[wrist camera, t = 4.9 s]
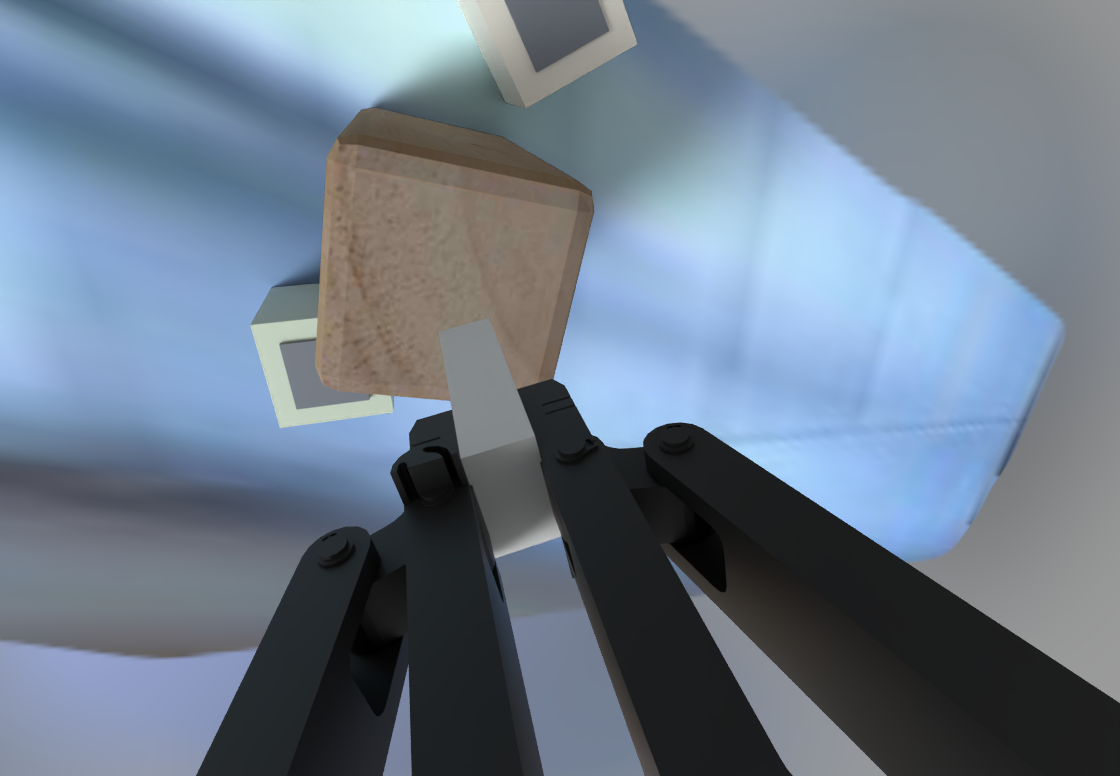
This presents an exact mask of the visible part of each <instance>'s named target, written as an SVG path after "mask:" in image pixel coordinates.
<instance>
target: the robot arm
mask: <svg viewBox="0 0 1120 776" xmlns="http://www.w3.org/2000/svg"><path fill="white" fill-rule="evenodd" d="M439 337H440V343H441V349H442V354H443V360H444V366H445V372H446V378H447V383H448V389H449V395H450V401H451V406H452V410H450V411H446V412H443V413H439V414H436V415H433V416H429V417H426V418H423V419H419V420H417V421H416V423H415V424H414V426H413V428H412V430H411V431H410V433H409V440H410V450H409V451H408V452H406V453H405V454H403V455H402V456H400V457H399V458H398V460H397V461H396V462H395V463H394V464H393V466H392V469H391V472H390V474H391V476H392V478H393V481H394V483H395V485H396V488H397V490H398V492H399V495H400V497H401V499H402V502H403V504H404V512H403V514H402V515H401V516H400V517H398V518H397V519H396V520H395V521H394V522H392V523H391V524H389V525H388V526H386V527H384V528H383V529H381V530H379V531H377V532H375V533H374V534H372V535H369V534H368V532H367V530H365V529H363V528H360V527H343V528H340V529H336V530H333V531H331V532H329V533H327V534H326V535H324V536H322V537H320V538H319V539H318V540H317V541H315V542H314V543H313V544H312V545H311V546H310V547H309V548H308V549H307V551H306V552H305V554H304V555H303V556H302V558H301V560H300V562H299V564H298V566H297V568H296V571H295V573H294V575H293V577H292V579H291V581H290V583H289V585H288V587H287V589H286V591H285V593H284V595H283V597H282V599H281V602H280V604H279V606H278V608H277V610H276V612H275V614H274V616H273V618H272V620H271V622H270V624H269V626H268V628H267V630H266V632H265V635H264V637H263V639H262V641H261V643H260V645H259V647H258V649H257V651H256V653H255V655H254V657H253V660H252V662H251V664H250V666H249V668H248V670H247V672H246V674H245V676H244V678H243V680H242V682H241V684H240V686H239V689H238V691H237V692H236V694H235V697H234V699H233V701H232V703H231V705H230V707H229V709H228V711H227V713H226V715H225V717H224V719H223V721H222V723H221V725H220V727H219V730H218V732H217V734H216V736H215V738H214V740H213V742H212V744H211V746H210V748H209V750H208V752H207V754H206V756H205V758H204V761H203V763H202V765H201V767H200V769H199V771H198V773H197V775H196V776H383V772H384V767H385V763H386V758H387V754H388V750H389V746H390V741H391V737H392V732H393V728H394V724H395V720H396V715H397V711H398V707H399V702H400V698H401V694H402V689H403V685H404V681H405V676H406V672H407V668H408V664H409V688H410V690H409V691H410V725H411V760H412V761H411V762H412V776H544V774H543V769H542V764H541V760H540V756H539V751H538V746H537V741H536V737H535V732H534V727H533V723H532V718H531V714H530V709H529V705H528V700H527V695H526V691H525V686H524V681H523V677H522V672H521V668H520V663H519V659H518V654H517V649H516V645H515V640H514V635H513V631H512V626H511V621H510V617H509V612H508V608H507V603H506V598H505V594H504V589H503V585H502V580H501V575H500V573H499V570H498V567H497V564H496V561H495V558H497V557H500V556H503V555H506V554H509V553H513V552H516V551H519V550H522V549H525V548H528V547H531V546H534V545H537V544H540V543H543V542H546V541H549V540H552V539H555V538H558V537H561V536H562V540H563V544H564V548H565V552H566V555H567V559H568V563H569V567H570V570H571V574H572V578H575V580H576V583H577V586H578V589H579V591H580V594H581V597H582V600H583V603H584V606H585V608H586V611H587V614H588V617H589V620H590V622H591V625H592V628H593V631H594V634H595V636H596V639H597V642H598V645H599V648H600V650H601V653H602V656H603V659H604V662H605V665H606V667H607V670H608V673H609V676H610V679H611V681H612V684H613V687H614V690H615V692H616V696H617V698H618V701H619V704H620V707H621V710H622V712H623V715H624V718H625V721H626V724H627V727H628V729H629V732H630V735H631V738H632V741H633V743H634V746H635V749H636V752H637V755H638V758H639V760H640V763H641V766H642V769H643V772H644V775H645V776H792V774H791V773H790V772H789V771H788V770H787V768H786V767H785V765H784V764H783V762H782V760H781V759H780V757H779V755H778V753H777V752H776V750H775V748H774V746H773V744H772V743H771V741H770V739H769V738H768V736H767V734H766V732H765V730H764V729H763V727H762V725H761V723H760V721H759V720H758V718H757V716H756V714H755V713H754V711H753V709H752V707H751V705H750V703H749V702H748V700H747V698H746V696H745V695H744V693H743V691H742V689H741V687H740V686H739V684H738V682H737V680H736V679H735V677H734V675H733V673H732V671H731V670H730V668H729V666H728V664H727V663H726V661H725V659H724V657H723V655H722V654H721V652H720V650H719V648H718V647H717V645H716V643H715V641H714V639H713V638H712V636H711V634H710V632H709V631H708V629H707V627H706V625H705V623H704V622H703V620H702V618H701V616H700V615H699V613H698V611H697V609H696V607H695V606H694V604H693V602H692V600H691V598H690V597H689V595H688V593H687V591H686V590H685V588H684V586H683V584H682V582H681V581H680V579H679V577H678V575H677V574H676V572H675V570H674V568H673V566H672V565H671V563H670V561H669V559H668V558H667V556H668V557H669V558H670V559H671V560H672V561H673V562H674V563H675V564H676V565H677V566H678V567H679V568H680V569H681V570H682V571H683V572H684V573H685V574H686V575H687V576H688V577H689V578H690V579H691V580H692V581H693V582H694V583H695V584H696V585H697V586H698V587H699V588H700V589H701V590H702V591H703V592H704V593H705V594H706V595H707V596H708V597H709V598H710V599H711V600H712V601H713V602H714V603H715V604H716V605H717V606H718V607H719V608H720V609H721V610H722V611H723V612H724V613H725V614H726V615H727V616H728V617H729V618H730V619H731V620H732V621H733V622H734V623H735V624H736V625H737V626H738V627H739V628H740V629H741V630H742V631H743V632H744V633H745V634H746V635H747V636H748V637H749V638H750V639H751V640H752V641H753V642H754V643H755V644H756V645H757V646H758V647H759V648H760V649H761V650H762V651H763V652H764V653H765V654H766V655H767V656H768V657H769V658H770V659H771V660H772V661H773V662H774V663H775V664H776V665H777V666H778V667H779V668H780V669H781V670H782V671H783V672H784V673H785V674H786V675H787V676H788V677H789V678H790V679H791V680H792V681H793V682H794V683H795V684H796V685H797V686H798V687H799V688H800V689H801V690H802V691H803V692H804V693H805V694H806V695H807V696H808V697H809V698H810V699H811V700H812V701H813V702H814V703H815V704H816V705H817V706H818V707H819V708H820V709H821V710H822V711H823V712H824V713H825V714H826V715H827V716H828V717H829V718H830V719H831V720H832V721H833V722H834V723H835V724H836V725H837V726H838V727H839V728H840V729H841V730H842V731H843V732H844V733H845V734H846V735H847V736H848V737H849V738H850V739H851V740H852V741H853V742H854V743H855V744H856V745H857V746H858V747H859V748H860V749H861V750H862V751H863V752H864V753H865V754H866V755H867V756H868V757H869V758H870V759H871V760H872V761H873V762H874V763H875V764H876V765H877V766H878V767H879V768H880V769H881V770H882V771H883V772H884V773H885V774H886V775H887V776H1120V703H1119V702H1117V701H1116V700H1114V699H1113V698H1111V697H1110V696H1108V695H1107V694H1105V693H1104V692H1102V691H1101V690H1099V689H1097V688H1096V687H1094V686H1093V685H1091V684H1090V683H1088V682H1087V681H1085V680H1084V679H1082V678H1081V677H1079V676H1078V675H1076V674H1075V673H1073V672H1072V671H1070V670H1069V669H1067V668H1066V667H1064V666H1063V665H1061V664H1059V663H1058V662H1056V661H1055V660H1053V659H1052V658H1050V657H1049V656H1047V655H1046V654H1044V653H1043V652H1041V651H1040V650H1038V649H1037V648H1035V647H1034V646H1032V645H1031V644H1029V643H1027V642H1026V641H1025V640H1023V639H1022V638H1020V637H1019V636H1017V635H1015V634H1014V633H1012V632H1011V631H1009V630H1008V629H1006V628H1005V627H1003V626H1001V625H1000V624H999V623H997V622H996V621H994V620H993V619H991V618H990V617H988V616H986V615H985V614H984V613H982V612H981V611H979V610H977V609H976V608H974V607H973V606H971V605H970V604H968V603H967V602H965V601H964V600H962V599H961V598H959V597H958V596H956V595H955V594H953V593H951V592H950V591H949V590H947V589H946V588H944V587H942V586H941V585H939V584H938V583H936V582H935V581H933V580H932V579H930V578H929V577H927V576H926V575H924V574H923V573H921V572H920V571H918V570H917V569H915V568H914V567H912V566H911V565H909V564H908V563H906V562H905V561H903V560H902V559H900V558H899V557H897V556H896V555H894V554H893V553H891V552H889V551H888V550H886V549H885V548H883V547H882V546H880V545H879V544H877V543H876V542H874V541H873V540H871V539H870V538H868V537H867V536H865V535H864V534H862V533H861V532H859V531H858V530H856V529H855V528H853V527H852V526H850V525H848V524H847V523H845V522H844V521H842V520H841V519H839V518H838V517H836V516H835V515H833V514H832V513H830V512H829V511H827V510H826V509H824V508H823V507H821V506H820V505H818V504H817V503H815V502H814V501H812V500H811V499H809V498H807V497H806V496H804V495H803V494H801V493H800V492H798V491H797V490H795V489H794V488H792V487H791V486H789V485H788V484H786V483H785V482H783V481H782V480H780V479H779V478H777V477H776V476H774V475H773V474H771V473H770V472H768V471H766V470H765V469H763V468H762V467H760V466H759V465H757V464H756V463H754V462H753V461H751V460H750V459H748V458H747V457H745V456H744V455H742V454H741V453H739V452H738V451H736V450H735V449H733V448H732V447H730V446H729V445H727V444H725V443H724V442H722V441H721V440H719V439H718V438H716V437H715V436H713V435H712V434H710V433H709V432H707V431H706V430H704V429H703V428H700V427H698V426H696V425H694V424H688V423H671V424H666V425H663V426H660V427H657V428H655V429H654V430H652V431H651V432H650V433H648V434H647V436H646V438H645V439H644V441H643V447H639V448H625V449H618V448H611V447H607V446H605V445H604V444H603V442H602V441H601V440H600V439H599V438H598V437H596V436H593V435H591V433H590V431H589V429H588V428H587V426H586V424H585V422H584V420H583V418H582V417H581V415H580V413H579V411H578V409H577V407H575V404H574V402H573V400H572V398H571V397H570V395H569V393H568V391H567V389H566V387H565V386H564V385H563V384H561V383H559V382H557V381H555V380H553V379H549V380H546V381H542V382H539V383H536V384H532V385H529V386H525V387H522V388H519V389H516V386H515V383H514V381H513V378H512V376H511V373H510V371H509V368H508V365H507V363H506V360H505V358H504V355H503V353H502V350H501V348H500V345H499V342H498V340H497V337H496V335H495V332H494V330H493V327H492V325H491V322H490V319H489V318H487V319H483V320H479V321H476V322H472V323H469V324H465V325H462V326H458V327H454V328H451V329H447V330H444V331H440V332H439ZM666 555H667V556H666ZM494 556H495V558H494Z"/></svg>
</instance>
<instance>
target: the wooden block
mask: <svg viewBox="0 0 1120 776" xmlns="http://www.w3.org/2000/svg"><path fill="white" fill-rule="evenodd" d="M593 213H594V206H593V198H592V191H591V190H589V189H588V188H587V187H585V186H584V185H583V184H581V183H580V182H579V181H577V180H576V179H574V178H572V177H571V176H569V175H567V174H565V173H564V172H562V171H560V170H559V169H557V168H555V167H553V166H552V165H550V164H548V163H547V162H545V161H543V160H541V159H540V158H538V157H536V156H535V155H533V154H531V153H530V152H528V151H526V150H524V149H523V148H521V147H519V146H518V145H516V144H514V143H512V142H511V141H509V140H507V139H506V138H504V137H501V136H497V135H492V134H488V133H484V132H479V131H475V130H471V129H466V128H462V127H457V126H453V125H449V124H444V123H440V122H436V121H431V120H427V119H423V118H418V117H414V116H409V115H405V114H401V113H396V112H392V111H388V110H383V109H379V108H375V107H373V108H368V109H363V110H361V111H360V112H359V113H358V114H357V115H356V117H355V118H354V119H353V120H352V121H351V122H350V124H349V125H348V126H347V127H346V128H345V129H344V131H343V132H342V133H341V134H340V135H339V136H338V138H337V139H336V141H335V143H334V145H333V147H332V149H331V151H330V153H329V155H328V156H327V165H326V182H325V199H324V216H323V233H322V250H321V268H320V285H319V302H318V319H317V336H316V353H315V367H316V370H317V372H318V374H319V377H320V379H321V382H322V383H323V385H324V386H326V387H329V388H331V389H334V390H337V391H341V392H353V393H365V394H377V395H389V396H400V397H412V398H424V399H436V400H448V401H450V395H449V389H448V383H447V378H446V372H445V366H444V360H443V354H442V349H441V343H440V337H439V332H440V331H444V330H447V329H451V328H454V327H458V326H462V325H465V324H469V323H472V322H476V321H479V320H483V319H487V318H489V319H490V322H491V325H492V327H493V330H494V332H495V335H496V337H497V340H498V342H499V345H500V348H501V350H502V353H503V355H504V358H505V360H506V363H507V365H508V368H509V371H510V373H511V376H512V378H513V381H514V383H515V386H516V389H519V388H522V387H525V386H529V385H532V384H536V383H539V382H542V381H546V380H549V379H553V378H554V374H555V370H556V366H557V362H558V358H559V354H560V350H561V345H562V341H563V337H564V333H565V329H566V325H567V321H568V317H569V312H570V308H571V304H572V300H573V296H574V292H575V288H576V284H577V279H578V275H579V271H580V267H581V263H582V259H583V255H584V251H585V246H586V242H587V238H588V234H589V230H590V226H591V222H592V217H593Z"/></svg>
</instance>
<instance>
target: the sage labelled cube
mask: <svg viewBox="0 0 1120 776" xmlns="http://www.w3.org/2000/svg"><path fill="white" fill-rule="evenodd" d="M319 285H320V283H316V284H305V285H294V286H283V287H273V288H271V289H270V291H269V293H268V295H267V296H266V298H265V300H264V302H263V303H262V305H261V307H260V309H259V311H258V312H257V314H256V316H255V318H254V319H253V321H252V323H251V329H252V332H253V336H254V339H255V343H256V346H257V349H258V353H259V356H260V360H261V363H262V367H263V370H264V374H265V377H266V381H267V384H268V388H269V391H270V395H271V398H272V401H273V405H274V408H275V412H276V415H277V419H278V422H279V426H280V428H284V427H291V426H298V425H305V424H313V423H320V422H327V421H334V420H342V419H349V418H356V417H363V416H371V415H378V414H385V413H392V412H394V396H389V395H377V394H365V393H353V392H341V391H337V390H334V389H331V388H329V387H326V386H324V385H323V383H322V382H321V379H320V377H319V374H318V372H317V370H316V367H315V353H316V336H317V319H318V302H319Z"/></svg>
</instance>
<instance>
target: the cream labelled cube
mask: <svg viewBox="0 0 1120 776" xmlns="http://www.w3.org/2000/svg"><path fill="white" fill-rule="evenodd" d="M456 1H457V3H458V5H459V7H460V9H461V11H462V13H463V15H464V17H465V19H466V22H467V24H468V26H469V28H470V30H471V32H472V34H473V36H474V38H475V40H476V42H477V44H478V46H479V48H480V51H481V53H482V55H483V57H484V59H485V61H486V63H487V65H488V67H489V69H490V71H491V73H492V75H493V77H494V79H495V82H496V84H497V86H498V88H499V90H500V92H501V94H502V96H503V98H504V100H505V102H506V103H508V104H512V105H516V106H519V107H523V108H528V107H530V106H531V105H533V104H535V103H537V102H538V101H540V100H542V99H543V98H545V97H547V96H549V95H550V94H552V93H554V92H556V91H557V90H559V89H561V88H563V87H564V86H566V85H568V84H569V83H571V82H573V81H575V80H576V79H578V78H580V77H582V76H583V75H585V74H587V73H589V72H590V71H592V70H594V69H595V68H597V67H599V66H601V65H602V64H604V63H606V62H608V61H609V60H611V59H613V58H615V57H616V56H618V55H620V54H621V53H623V52H625V51H627V50H628V49H630V48H632V47H634V46H635V45H637V41H636V38H635V35H634V32H633V29H632V26H631V24H630V21H629V18H628V15H627V12H626V9H625V6H624V4H623V1H622V0H456Z"/></svg>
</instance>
